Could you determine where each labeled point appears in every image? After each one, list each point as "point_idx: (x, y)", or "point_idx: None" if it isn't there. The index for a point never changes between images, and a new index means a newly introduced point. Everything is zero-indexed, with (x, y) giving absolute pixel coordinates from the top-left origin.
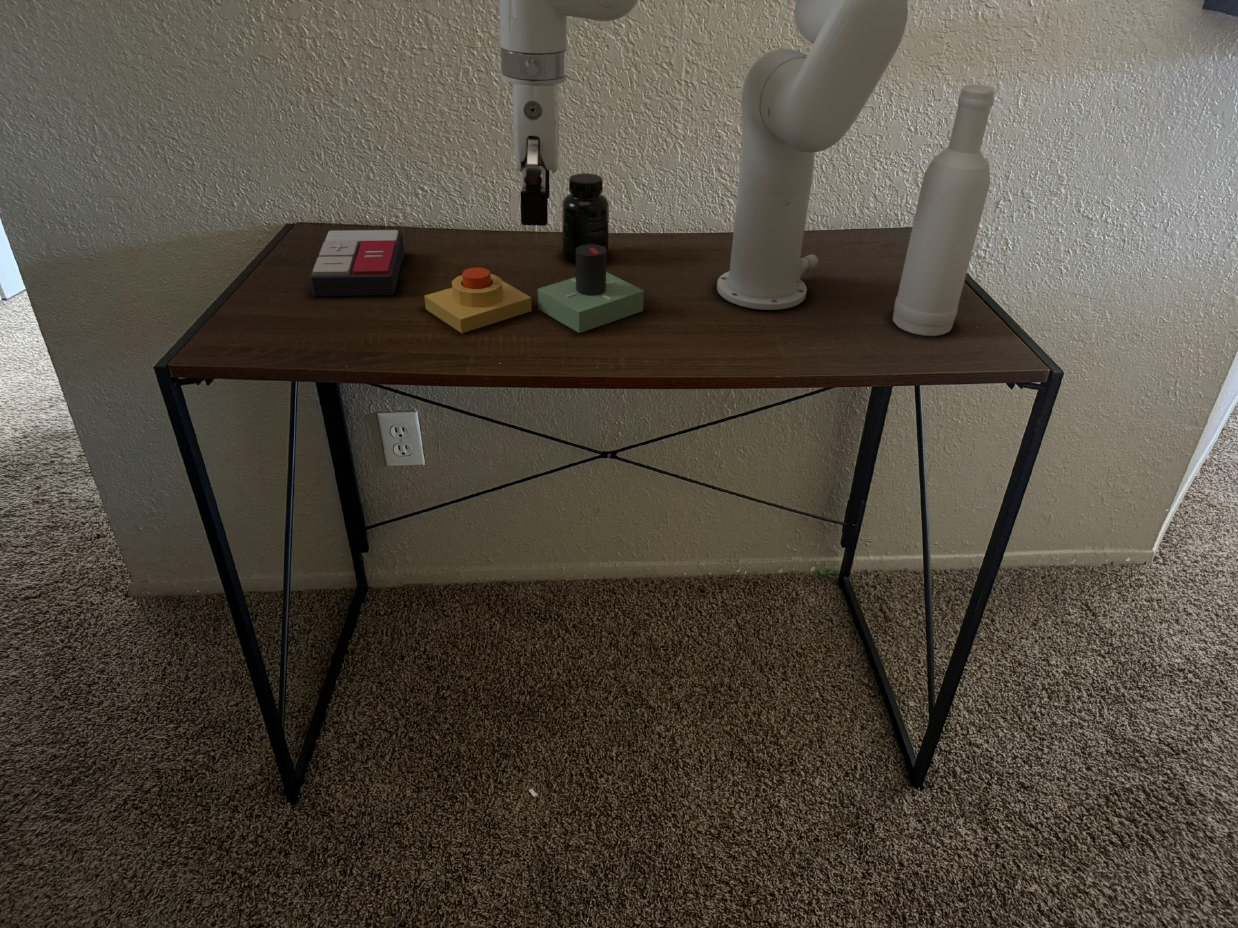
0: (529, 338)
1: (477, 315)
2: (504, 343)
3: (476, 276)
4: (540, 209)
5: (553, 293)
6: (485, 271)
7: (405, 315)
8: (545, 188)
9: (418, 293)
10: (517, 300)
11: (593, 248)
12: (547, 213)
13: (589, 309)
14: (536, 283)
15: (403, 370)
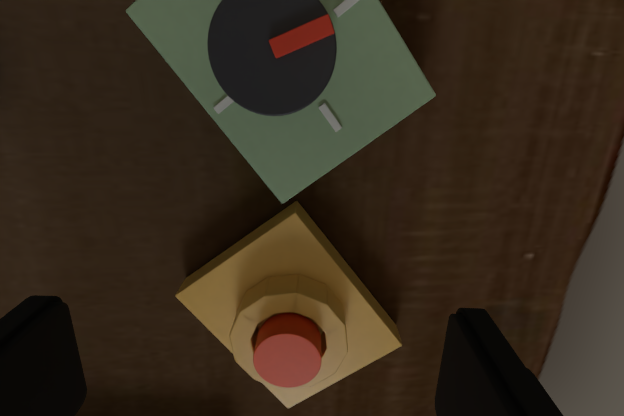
0: (430, 203)
1: (379, 316)
2: (446, 250)
3: (309, 360)
4: (559, 410)
5: (312, 164)
6: (277, 343)
7: (313, 410)
8: (28, 350)
9: (219, 400)
10: (311, 243)
11: (278, 39)
12: (507, 345)
13: (416, 64)
14: (139, 190)
15: None
